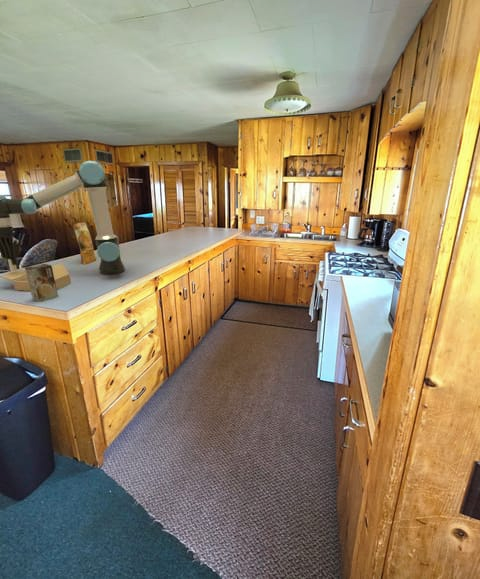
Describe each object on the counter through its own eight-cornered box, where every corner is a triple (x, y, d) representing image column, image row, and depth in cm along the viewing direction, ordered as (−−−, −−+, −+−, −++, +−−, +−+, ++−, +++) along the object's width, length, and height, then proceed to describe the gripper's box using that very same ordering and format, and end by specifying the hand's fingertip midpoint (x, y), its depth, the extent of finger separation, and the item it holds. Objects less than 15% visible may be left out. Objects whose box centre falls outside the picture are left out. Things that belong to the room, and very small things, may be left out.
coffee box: (51, 294, 149) (45, 263, 144) (58, 296, 146) (52, 265, 140) (32, 299, 141) (24, 267, 136) (38, 302, 138) (31, 269, 133)
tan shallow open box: (71, 282, 167) (70, 273, 165) (51, 292, 151) (49, 282, 149) (37, 281, 168) (35, 272, 167) (14, 290, 153) (11, 281, 151)
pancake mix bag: (75, 265, 204) (68, 224, 195) (90, 258, 222) (84, 221, 213) (85, 265, 204) (78, 224, 195) (99, 259, 222) (93, 221, 213)
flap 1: (32, 272, 165) (20, 269, 165) (12, 279, 152) (-1, 276, 152) (32, 273, 165) (20, 270, 165) (12, 280, 152) (-1, 276, 153)
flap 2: (51, 281, 151) (43, 269, 149) (68, 274, 163) (60, 263, 162) (52, 281, 150) (43, 269, 149) (69, 273, 163) (61, 263, 162)
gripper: (20, 225, 154) (30, 269, 161) (-3, 225, 155) (8, 268, 162) (8, 227, 146) (19, 272, 154) (-16, 226, 147) (-4, 272, 155)
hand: (13, 270), depth 158 cm, fingers closed
